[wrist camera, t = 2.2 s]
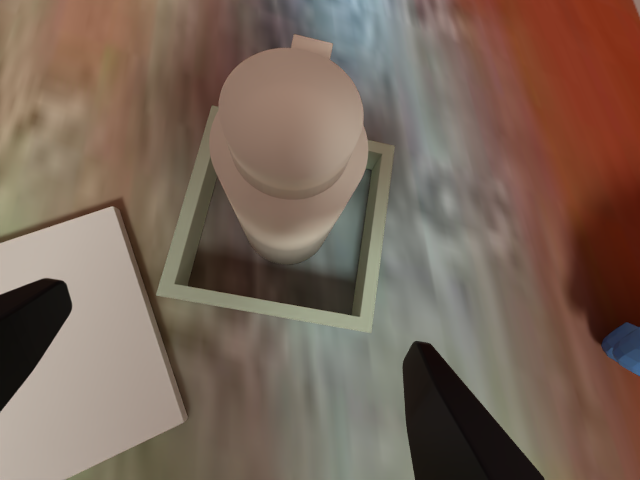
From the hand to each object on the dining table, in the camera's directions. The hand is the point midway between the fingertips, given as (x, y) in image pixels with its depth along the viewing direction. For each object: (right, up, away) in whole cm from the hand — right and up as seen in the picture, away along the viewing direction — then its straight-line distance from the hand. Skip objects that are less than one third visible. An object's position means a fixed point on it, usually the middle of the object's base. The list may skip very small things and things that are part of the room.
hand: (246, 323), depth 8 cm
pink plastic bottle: (0, +3, +14) cm, 14 cm away
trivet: (-15, -5, +10) cm, 19 cm away
